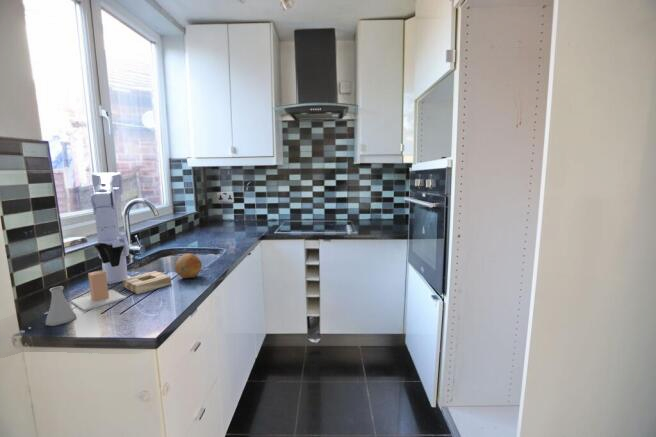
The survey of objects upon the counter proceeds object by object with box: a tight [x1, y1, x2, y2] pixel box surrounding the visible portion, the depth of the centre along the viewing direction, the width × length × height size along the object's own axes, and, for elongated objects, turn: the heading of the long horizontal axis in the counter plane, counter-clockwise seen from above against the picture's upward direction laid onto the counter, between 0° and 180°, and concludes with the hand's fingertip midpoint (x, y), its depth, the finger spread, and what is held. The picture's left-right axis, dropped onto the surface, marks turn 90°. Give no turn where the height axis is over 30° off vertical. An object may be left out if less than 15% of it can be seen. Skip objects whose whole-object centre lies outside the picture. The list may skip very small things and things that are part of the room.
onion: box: [174, 253, 202, 279], centre depth 127 cm, size 10×10×10 cm
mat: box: [70, 289, 127, 312], centre depth 107 cm, size 12×12×1 cm
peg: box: [87, 269, 109, 302], centre depth 106 cm, size 4×4×9 cm
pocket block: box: [122, 270, 172, 295], centre depth 120 cm, size 12×12×3 cm
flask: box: [45, 285, 77, 327], centre depth 92 cm, size 7×7×10 cm
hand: (111, 264), depth 112 cm, fingers open, 7 cm apart
